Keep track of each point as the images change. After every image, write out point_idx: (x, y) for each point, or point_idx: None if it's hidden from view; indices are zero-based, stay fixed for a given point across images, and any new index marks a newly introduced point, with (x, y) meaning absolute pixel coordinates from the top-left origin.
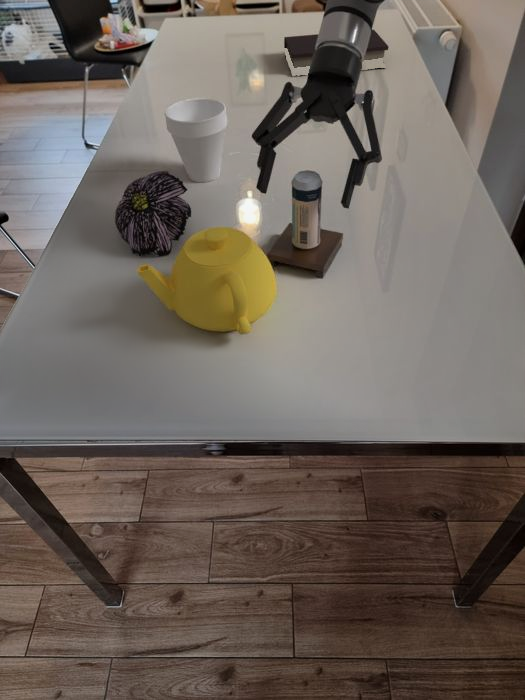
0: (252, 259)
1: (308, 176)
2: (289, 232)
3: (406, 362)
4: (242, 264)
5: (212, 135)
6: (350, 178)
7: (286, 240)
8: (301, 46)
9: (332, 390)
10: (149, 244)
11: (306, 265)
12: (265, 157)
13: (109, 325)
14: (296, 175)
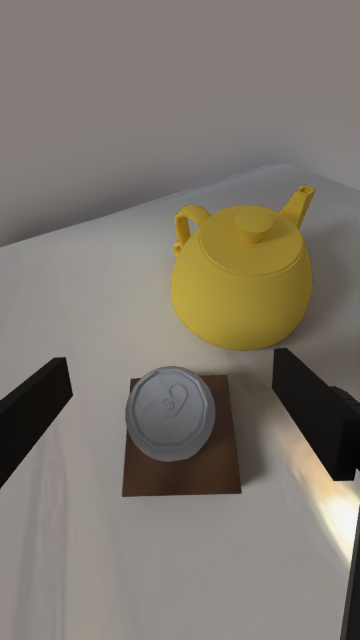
0: (192, 246)
1: (165, 410)
2: (223, 452)
3: (26, 296)
4: (197, 230)
5: None
6: (19, 388)
7: (215, 423)
8: None
9: (89, 251)
10: None
11: None
12: (327, 391)
13: (315, 236)
14: (204, 408)
